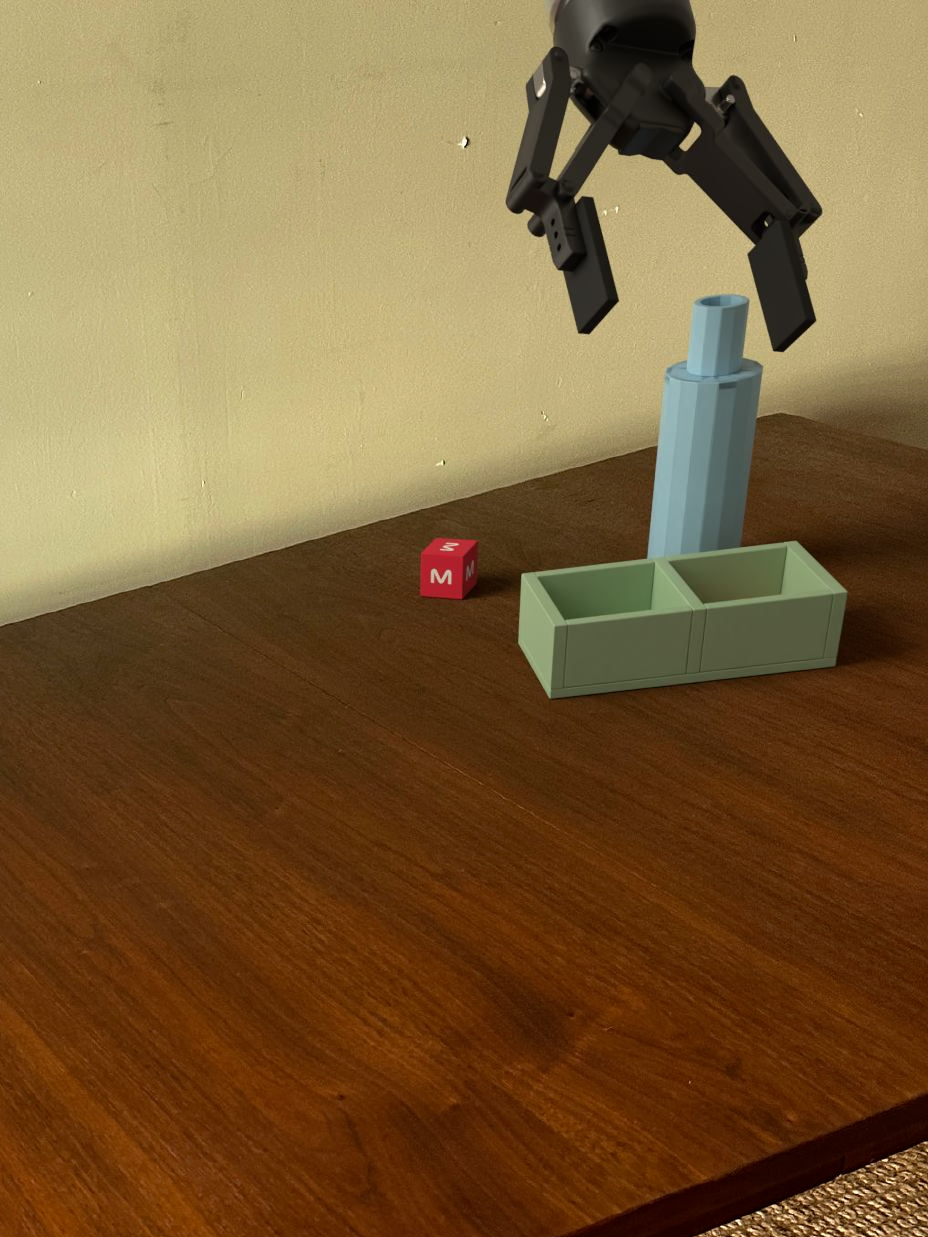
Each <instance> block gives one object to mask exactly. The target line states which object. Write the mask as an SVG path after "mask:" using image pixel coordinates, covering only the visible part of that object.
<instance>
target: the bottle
mask: <svg viewBox="0 0 928 1237" xmlns="http://www.w3.org/2000/svg"><path fill="white" fill-rule="evenodd" d="M750 301H751V300H750V298H749V297H747V296H745V295H741V294H735V293H733V294H732V293H728V294H727V293H722V294H720V293H719V294H713V295H712V294H711V295H706V296H703V297H700V298H697V299H695V300H694V302H693V303H692V311H691V322H690V330H689V331H690V333H689V339H688V340H689V341H688V350H687V351H688V352H687V360H682V361H679V362H676V363H673V364H672V365H670V366H667V367H666V370H665V372H664V377H663V387H662V399H661V410H660V419H659V429H658V431H659V432H658V441H657V450H656V451H657V452H656V461H655V462H656V463H655V473H654V482H653V494H652V502H651V505H652V506H651V516H650V525H649V534H648V535H649V536H648V546H647V556H646V559H649V558H651V559H652V558H657V557H666V556H674V555H683V554H691V553H699V552H708V551H716V550H725V549H733V548H741V544H742V538H743V529H744V520H745V513H746V505H747V498H748V489H749V482H750V474H751V467H752V466H751V465H752V459H753V450H754V443H755V441H754V440H755V434H756V426H757V418H758V411H759V404H760V403H759V402H760V395H761V389H762V388H761V387H762V379H763V373H764V372H763V371H764V365H762V364H761V363H760V362H759V361H757V360H754V359H750V358H747V357H744V349H745V342H746V333H747V326H748V325H747V324H748V319H749V318H748V316H749V308H750Z"/></svg>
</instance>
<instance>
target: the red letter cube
mask: <svg viewBox="0 0 928 1237" xmlns="http://www.w3.org/2000/svg"><path fill="white" fill-rule="evenodd" d="M478 552H479V540H474V539H462V538H461V539H457V538H443V537H435V539H433V541H432V542H430V544H429V545H428V546H426V547H425V549H423V551H422V552H421V553H420V597H425V598H440V599H452V600H463V599H464V598H465V597H466V596H467V595H468V593H469V592H471V590H472V589H473V588H474V587H475V586H476V585H477V581H478V580H477V579H478Z"/></svg>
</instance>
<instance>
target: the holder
mask: <svg viewBox="0 0 928 1237" xmlns="http://www.w3.org/2000/svg"><path fill="white" fill-rule="evenodd" d="M519 597H520V599H519V617H518V618H519V620H518V641H517V643H518V645H519V647H520V649H521V651H522V652H523V654H524V656H525V658H526V659H527V662H528V663H529V665H530V667H531V669H532V670H533V672H534V673H535V674H534V675H535V676H536V677H537V679H538V680H539V682H540V685H541V686H542V688H543V690H544V691H545V693H546V696H548V698H549V699H551V700H553V699H560V698H561V699H563V698H570V697H579V696H587V695H596V694H597V695H598V694H605V693H613V692H614V693H615V692H622V691H632V690H639V689H648V688H656V687H657V688H658V687H665V686H666V687H667V686H675V685H685V684H692V683H701V682H709V681H720V680H727V679H737V678H744V677H745V678H746V677H753V676H762V675H772V674H778V673H779V674H780V673H789V672H797V671H806V670H815V669H823V668H824V669H825V668H832V667H836V664H837V657H838V653H839V646H840V640H841V634H842V628H843V622H844V617H845V611H846V604H847V599H848V590H847V589H846V588H845V587H843V585H842V584H841V583H839V581H838V580H836V578H835V577H834V576H833V575H831V573H829V571H828V570H826V568H824V566H823V565H822V564H820V563H819V561H817V560H816V559H815V558H814V557H813V556H812V555H811V554H810V553H809V552H808V551H807V550H806V549H805V548H804V547H803V546H802V545H801V544H800V543H799V542H798V541H797V540H790V541H784V542H776V543H767V544H758V545H752V546H743V547H742V546H740V548H733V549H725V550H716V551H708V552H699V553H691V554H683V555H674V556H666V557H657V558H652V559H651V558H649V559H647V558H642V559H641V558H640V559H632V560H625V561H617V562H608V563H600V564H590V565H583V566H575V567H565V568H557V569H549V570H542V571H535V572H533V571H531V572H524V573H521V579H520V596H519Z"/></svg>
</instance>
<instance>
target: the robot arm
mask: <svg viewBox="0 0 928 1237" xmlns="http://www.w3.org/2000/svg"><path fill="white" fill-rule="evenodd" d="M542 3H543V7H544V11H545V15H546V20H547V23H548V24H547V25H548V27H549V30H550V32H551V36H552V45H553V46H552V47H551V48H550V49H549V51H548V52H547V53H546V55H545V56H544V58H543V59H542V60H541V62H540V63H539V65H538V66H537V67H536V69H535V70H534V72H533V74H532V75H531V76H530V78H529V79H528V81H527V82H526V83H525V94H526V101H527V102H526V103H527V109H528V114H527V118H526V121H525V125H524V129H523V132H522V137H521V139H520V144H519V147H518V151H517V155H516V159H515V163H514V166H513V170H512V174H511V178H510V181H509V185H508V189H507V193H506V197H505V206H506V208H507V209H508V210H509V211H510V212H511V213H513V214H515V215H521V214H522V213H523V212H524V211H527V212H529V213H532V215H531V217H530V218H529V220H528V221H527V223H526V227H527V230H528V231H529V233H530V234H531V235H532V236H534V237H536V238H543V237H544V236H546V240H547V244H548V246H549V247H548V248H549V252H550V256H551V260H552V263H553V265H554V266H555V268H556V270H557V271H561V272H562V273H563V276H564V281H565V286H566V289H567V294H568V298H569V302H570V306H571V310H572V314H573V319H574V323H575V326H576V330H577V331H576V332H577V334H578V335H579V334H580V335H581V334H582V335H591V334H592V332H593V331H594V330H595V329H596V328H597V327H598V326H599V324H601V322H602V321H603V320H604V319H605V318H606V316H608V314H610V312H611V311H612V310H613V309H614V308H615V306H616V305H617V304H618V303H619V302H620V299H619V294H618V290H617V286H616V282H615V279H614V274H613V270H612V266H611V262H610V257H609V255H608V251H607V246H606V242H605V239H604V234H603V230H602V226H601V222H600V219H599V215H598V211H597V206H596V202H595V198H594V197H593V196H587V195H581V196H580V197H579V199H578V200H577V201H576V199H575V197H576V196H577V195H578V193H579V192H580V191H581V189H582V188H583V186H584V184H585V183H586V181H587V179H588V178H589V176H590V174H591V173H592V172H593V170H594V168H595V167H596V165H597V164H598V162H599V161H600V159H601V157H602V156H603V154H604V152H605V151H606V149H607V148H608V146H610V147H611V148H613V149H615V150H617V154H618V156H626V157H632V156H641V157H642V156H643V157H645V158H647V159H650V160H656V161H661V162H663V163H664V165H665V166H667V167H668V168H669V169H670V170H671V171H672V172H673V173H674V174H675V175H677V176H682V175H687V176H688V177H689V178H690V179H691V180H692V181H693V182H694V183H695V184H696V185H697V186H698V187H699V189H701V190H702V191H703V193H704V194H705V195H706V196H707V197H708V198H709V199H710V200H711V201H712V202H713V203H714V204H715V205H716V206H717V208H719V209H720V210H721V212H723V214H724V215H725V216H726V217H728V219H730V221H731V222H732V223H733V224H734V225H735V226H736V227H737V228H738V229H739V230H740V231H741V232H742V233H743V234H744V235H745V236H746V238H747V239H749V241H750V242H751V243H752V244H753V245H754V246H753V247H752V248H751V249H750V250H749V251H748V252H747V254H746V255H747V259H748V263H749V266H750V270H751V274H752V277H753V282H754V285H755V289H756V293H757V297H758V301H759V304H760V308H761V311H762V314H763V319H764V323H765V326H766V330H767V334H768V338H769V341H770V345H771V349H772V352H775V353H776V352H777V353H785V352H786V351H787V350H788V349H789V348H790V347H791V346H792V345H793V344H794V343H795V342H796V341H797V340H798V339H800V337H802V335H804V334H805V333H806V332H807V331H808V330H809V329H810V328H811V327H812V326H813V325H815V323H816V322H817V317H816V313H815V310H814V306H813V302H812V298H811V295H810V291H809V287H808V284H807V280H808V275H809V269H808V266H807V263H806V259H805V257H804V256H805V255H804V251H803V248H802V245H801V241H800V238H801V237H802V236H803V235H804V234H805V233H806V232H807V231H808V229H810V227H812V226H813V224H815V222H816V221H817V220H818V219H819V218H821V216H822V215H823V208H822V206H821V204H820V202H819V201H818V199H817V198H816V196H815V195H814V194H813V192H812V191H811V189H810V188H809V187H808V185H807V183H806V182H805V180H804V179H803V178H802V176H801V175H800V173H799V172H798V170H797V169H796V167H795V166H794V165H793V163H792V162H791V160H790V159H789V157H788V156H787V155H786V153H785V152H784V150H783V149H782V148H781V146H780V144H779V143H778V141H777V140H776V139H775V137H774V136H773V134H772V133H771V131H770V130H769V129H768V127H767V125H766V124H765V123H764V121H763V120H762V118H761V116H760V115H759V114H758V112H757V111H756V110H755V108H754V105H753V103H752V100H751V97H750V95H749V93H748V89H747V87H746V83H745V82H744V80H743V79H742V78H741V77H739V76H738V75H736V74H732V75H731V74H730V76H728V77H727V79H726V80H725V81H724V83H723V84H722V85H721V86H705V83H704V82H703V80H702V79H701V77H700V76H699V75H698V74H697V71H696V70H695V68H694V65H693V60H694V51H695V50H694V49H695V44H696V37H697V24H696V20H695V16H694V12H693V8H692V4H691V2H690V0H542ZM569 100H570V101H571V102H572V104H573V105H574V106H575V108H576V109H577V110H578V111H579V112H580V113H581V115H582V116H583V117H584V118H585V120H586V121H587V122H588V123H589V126H588V128H587V129H586V131H585V132H584V134H583V136H582V137H581V139H580V141H579V142H578V144H577V145H576V146H575V148H574V151H573V153H572V154H571V156H570V157H569V159H568V160H567V162H566V164H565V165H564V166H563V168H562V170H561V171H560V173H559V174H558V176H557V178H556V179H555V178H552V177H550V174H551V172H552V166H553V163H554V159H555V156H556V155H555V154H556V151H557V146H558V143H559V139H560V135H561V131H562V127H563V123H564V119H565V115H566V111H567V109H568V104H569ZM695 124H696V125H697V126H698V127H699V129H700V134H699V135H698V137H697V138H695V140H694V141H693V142H692V143H691V145H690V146H689V147H688V148H687V149H686V150H684V149H683V148H682V147H681V144H683V142H684V141H685V140H686V139H687V138H688V136H689V135H690V133H691V132H692V129H693V127H694V125H695ZM766 224H767V225H766Z"/></svg>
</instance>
